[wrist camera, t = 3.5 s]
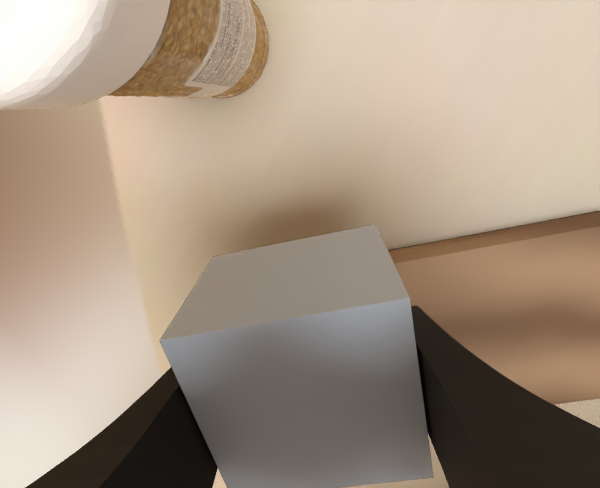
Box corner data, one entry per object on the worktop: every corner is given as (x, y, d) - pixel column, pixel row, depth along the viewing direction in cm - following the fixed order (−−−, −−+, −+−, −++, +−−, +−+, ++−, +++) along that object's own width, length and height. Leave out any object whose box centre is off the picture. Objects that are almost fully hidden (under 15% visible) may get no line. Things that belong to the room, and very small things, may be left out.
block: (397, 359, 13) (433, 477, 9) (257, 379, 14) (232, 498, 10) (375, 224, 11) (410, 297, 7) (213, 256, 12) (159, 340, 8)
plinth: (584, 377, 22) (604, 397, 20) (405, 401, 23) (410, 422, 22) (600, 211, 18) (626, 221, 16) (381, 252, 19) (386, 265, 18)
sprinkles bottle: (154, 65, 16) (-378, -28, 4) (192, -43, 15) (-529, -838, 2) (244, 117, 17) (45, 182, 4) (290, 19, 15) (175, -308, 3)
